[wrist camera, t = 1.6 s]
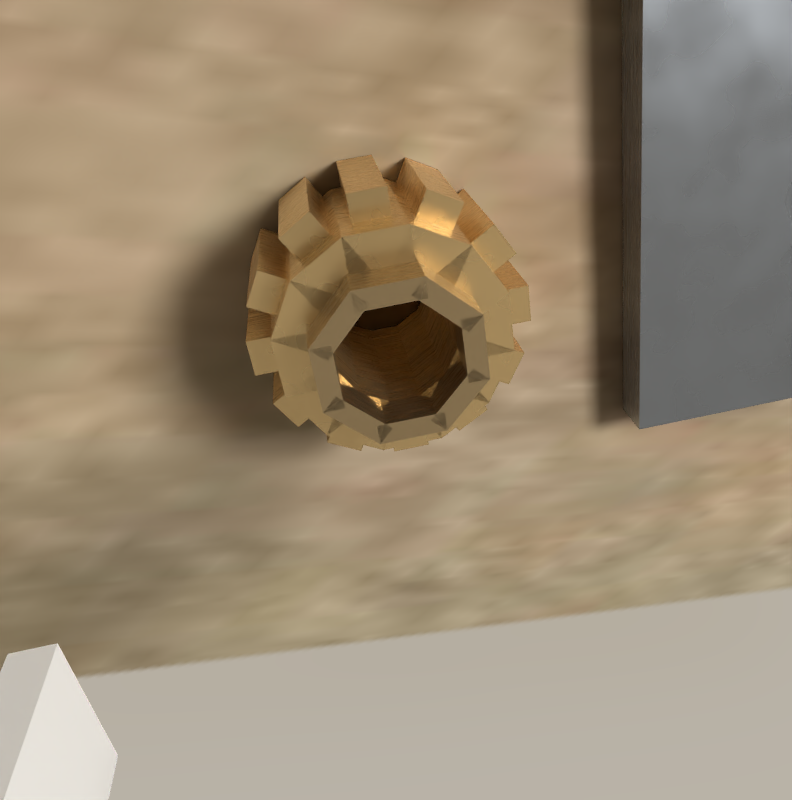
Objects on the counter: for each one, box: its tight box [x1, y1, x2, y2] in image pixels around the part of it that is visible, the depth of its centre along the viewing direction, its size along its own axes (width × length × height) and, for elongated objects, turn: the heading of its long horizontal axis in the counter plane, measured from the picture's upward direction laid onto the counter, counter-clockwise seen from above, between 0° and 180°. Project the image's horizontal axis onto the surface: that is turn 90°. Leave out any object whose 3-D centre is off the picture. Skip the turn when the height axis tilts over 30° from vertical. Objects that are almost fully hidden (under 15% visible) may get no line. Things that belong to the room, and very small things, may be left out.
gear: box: [246, 155, 531, 451], centre depth 23 cm, size 8×8×6 cm
